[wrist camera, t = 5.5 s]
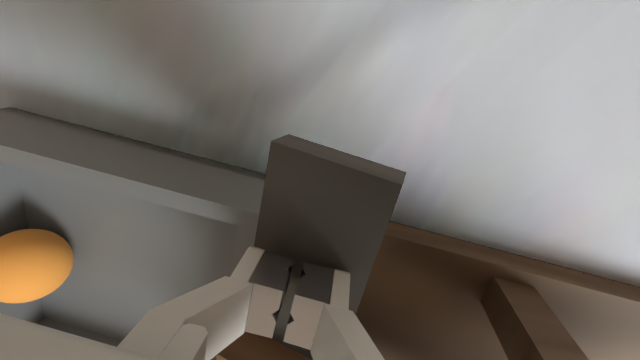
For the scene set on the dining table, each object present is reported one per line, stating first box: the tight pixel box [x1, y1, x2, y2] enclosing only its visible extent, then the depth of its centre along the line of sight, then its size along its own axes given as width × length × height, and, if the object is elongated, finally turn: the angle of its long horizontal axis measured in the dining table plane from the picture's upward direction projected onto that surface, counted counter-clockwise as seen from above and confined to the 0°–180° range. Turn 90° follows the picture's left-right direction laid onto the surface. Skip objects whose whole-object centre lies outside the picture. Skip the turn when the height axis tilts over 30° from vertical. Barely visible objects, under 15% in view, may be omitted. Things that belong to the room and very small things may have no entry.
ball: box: [0, 229, 74, 303], centre depth 17 cm, size 4×4×4 cm
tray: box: [0, 108, 266, 360], centre depth 18 cm, size 16×16×4 cm
